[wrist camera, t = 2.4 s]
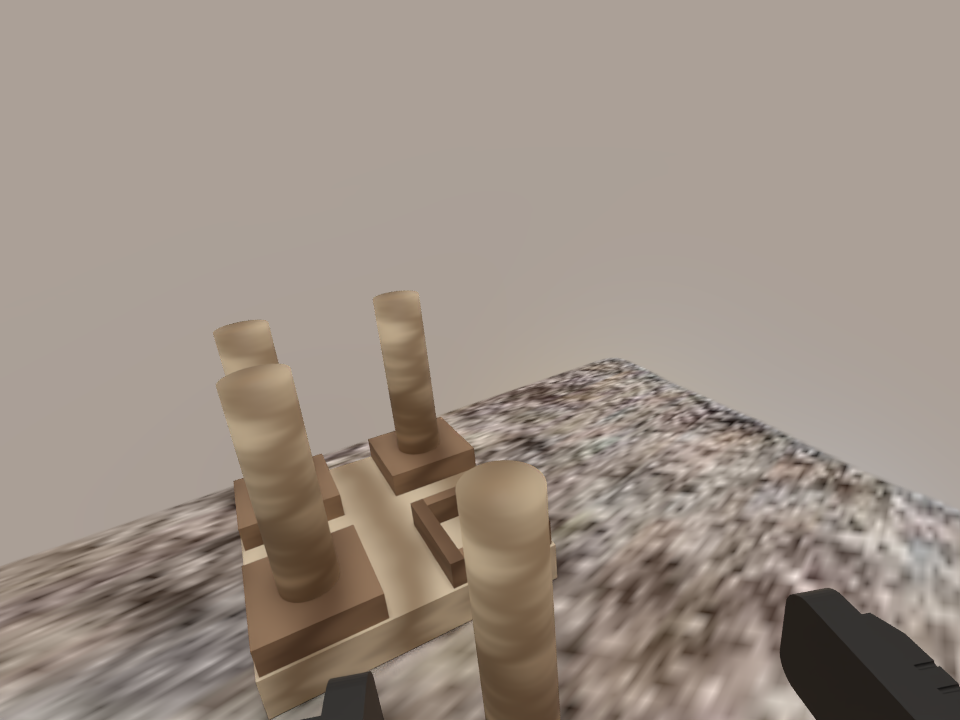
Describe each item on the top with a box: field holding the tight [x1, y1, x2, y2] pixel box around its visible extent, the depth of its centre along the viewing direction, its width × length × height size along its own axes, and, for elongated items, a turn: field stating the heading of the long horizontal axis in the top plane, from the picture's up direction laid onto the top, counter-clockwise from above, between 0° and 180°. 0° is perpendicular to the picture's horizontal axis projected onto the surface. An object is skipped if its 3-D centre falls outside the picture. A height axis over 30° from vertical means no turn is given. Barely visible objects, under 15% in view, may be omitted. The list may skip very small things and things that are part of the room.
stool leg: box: [455, 460, 560, 720], centre depth 24 cm, size 4×4×16 cm
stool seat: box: [213, 291, 557, 719], centre depth 39 cm, size 20×20×19 cm
